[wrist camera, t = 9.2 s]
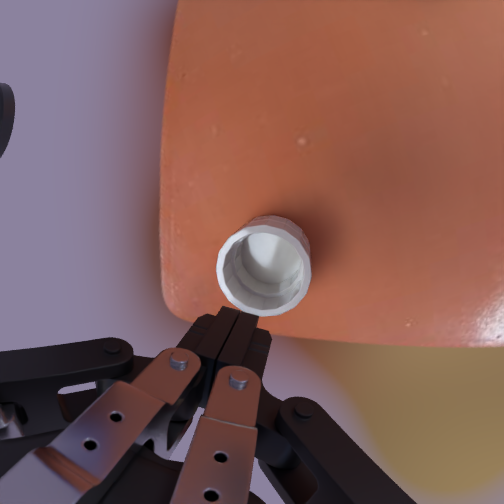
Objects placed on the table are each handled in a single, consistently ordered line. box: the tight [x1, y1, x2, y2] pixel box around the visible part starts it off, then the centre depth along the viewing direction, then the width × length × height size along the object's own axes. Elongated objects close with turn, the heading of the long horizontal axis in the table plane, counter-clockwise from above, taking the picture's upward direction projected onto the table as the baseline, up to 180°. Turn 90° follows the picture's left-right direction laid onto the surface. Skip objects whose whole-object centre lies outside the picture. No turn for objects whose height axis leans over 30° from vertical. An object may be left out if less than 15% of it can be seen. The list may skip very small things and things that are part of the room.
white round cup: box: [216, 215, 312, 316], centre depth 22 cm, size 6×6×5 cm
